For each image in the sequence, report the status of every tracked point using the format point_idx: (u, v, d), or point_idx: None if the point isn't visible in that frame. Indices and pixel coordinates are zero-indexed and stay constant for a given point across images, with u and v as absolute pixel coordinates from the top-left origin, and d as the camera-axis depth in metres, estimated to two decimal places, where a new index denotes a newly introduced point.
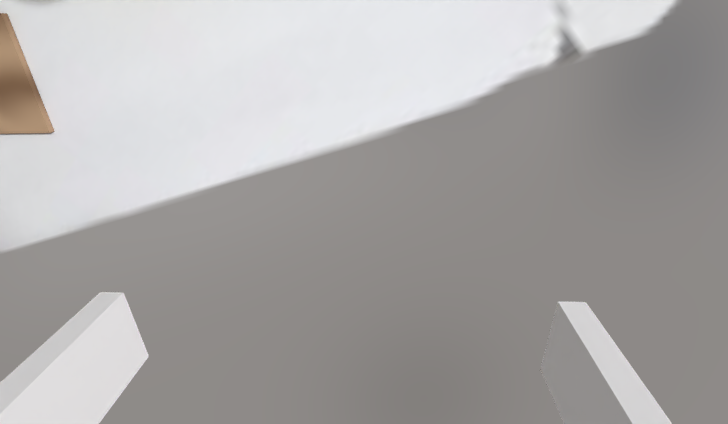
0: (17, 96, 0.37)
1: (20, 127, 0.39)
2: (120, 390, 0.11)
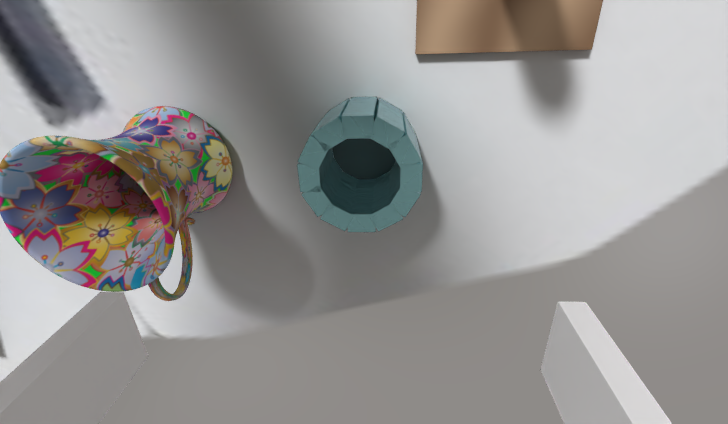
0: None
1: None
2: (120, 389, 0.11)
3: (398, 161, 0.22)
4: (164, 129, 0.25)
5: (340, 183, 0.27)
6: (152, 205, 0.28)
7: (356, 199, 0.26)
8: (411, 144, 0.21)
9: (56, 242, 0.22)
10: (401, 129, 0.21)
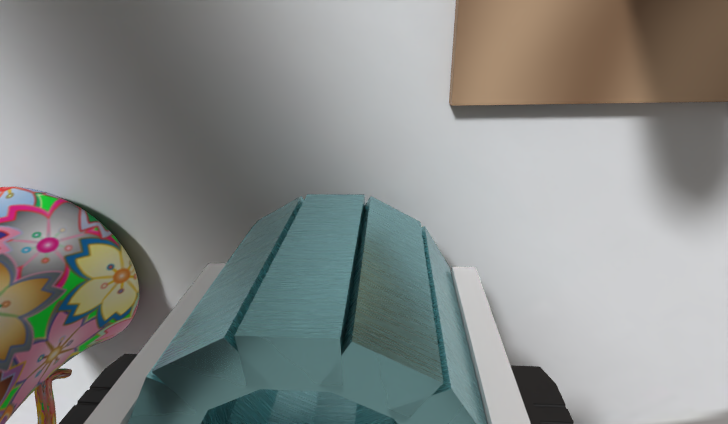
0: None
1: None
2: None
3: None
4: None
5: None
6: None
7: None
8: (463, 412, 0.07)
9: None
10: (432, 369, 0.07)
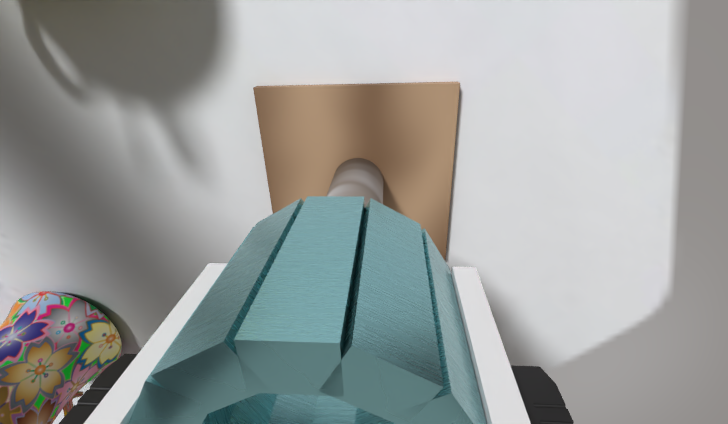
0: (388, 120, 0.20)
1: (444, 139, 0.21)
2: None
3: None
4: (38, 328, 0.25)
5: None
6: None
7: None
8: (463, 416, 0.07)
9: None
10: (432, 373, 0.07)
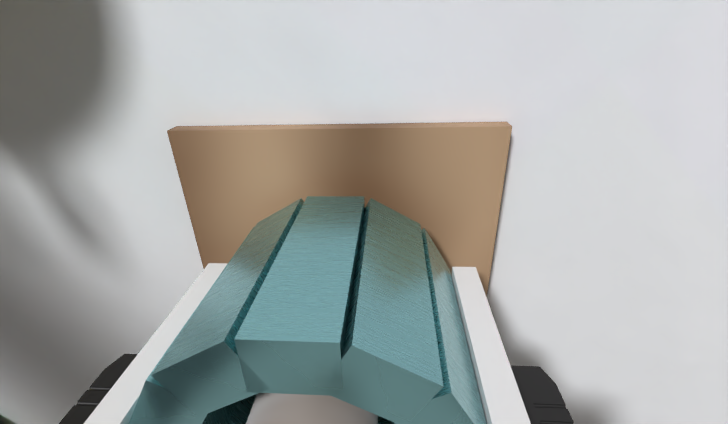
0: (390, 182, 0.12)
1: (480, 213, 0.13)
2: None
3: None
4: None
5: None
6: None
7: None
8: (463, 416, 0.07)
9: None
10: (432, 373, 0.07)
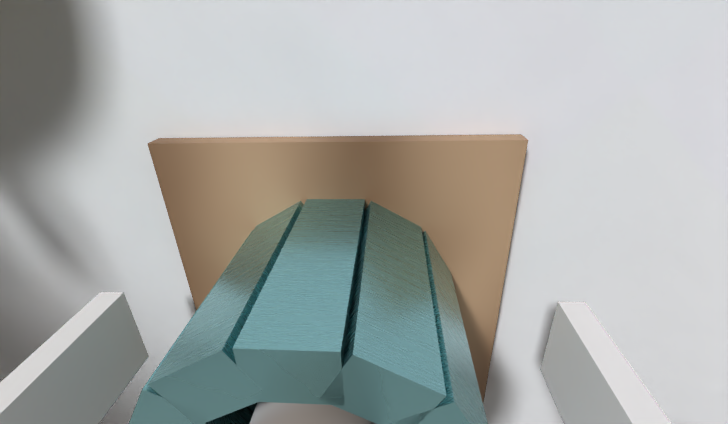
0: (393, 200, 0.11)
1: (492, 234, 0.12)
2: (120, 390, 0.11)
3: None
4: None
5: None
6: None
7: None
8: None
9: None
10: (434, 382, 0.06)
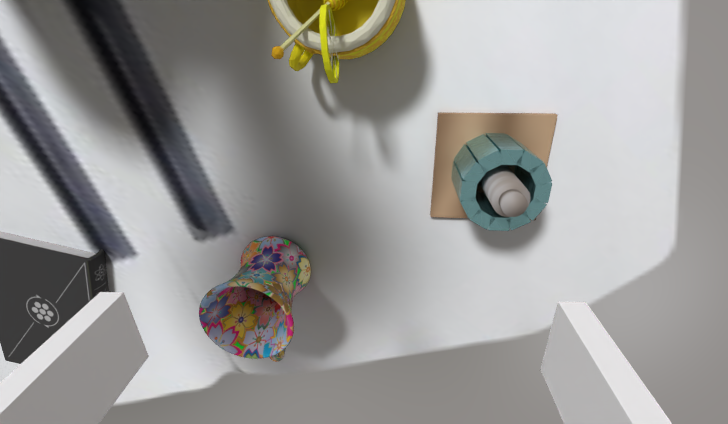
0: (513, 133, 0.36)
1: (544, 146, 0.36)
2: (120, 389, 0.11)
3: (535, 181, 0.31)
4: (277, 256, 0.41)
5: None
6: (260, 295, 0.44)
7: (489, 207, 0.35)
8: (546, 170, 0.31)
9: (220, 328, 0.38)
10: (540, 159, 0.31)
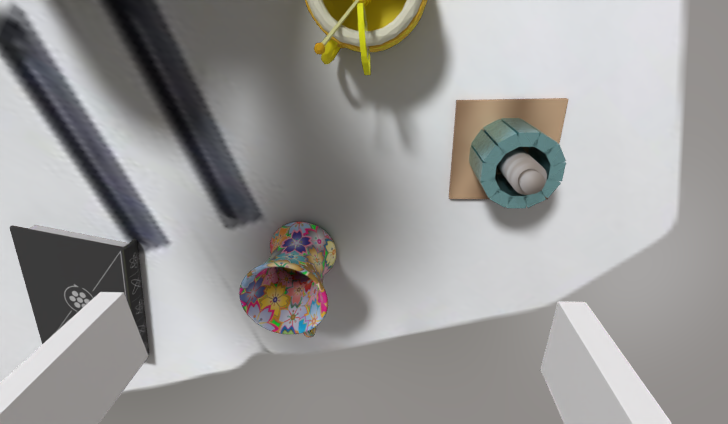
0: (527, 118, 0.38)
1: (556, 129, 0.39)
2: (120, 390, 0.11)
3: (550, 161, 0.34)
4: (306, 239, 0.43)
5: None
6: (290, 277, 0.46)
7: (507, 187, 0.38)
8: (560, 150, 0.34)
9: (258, 307, 0.41)
10: (555, 141, 0.33)
